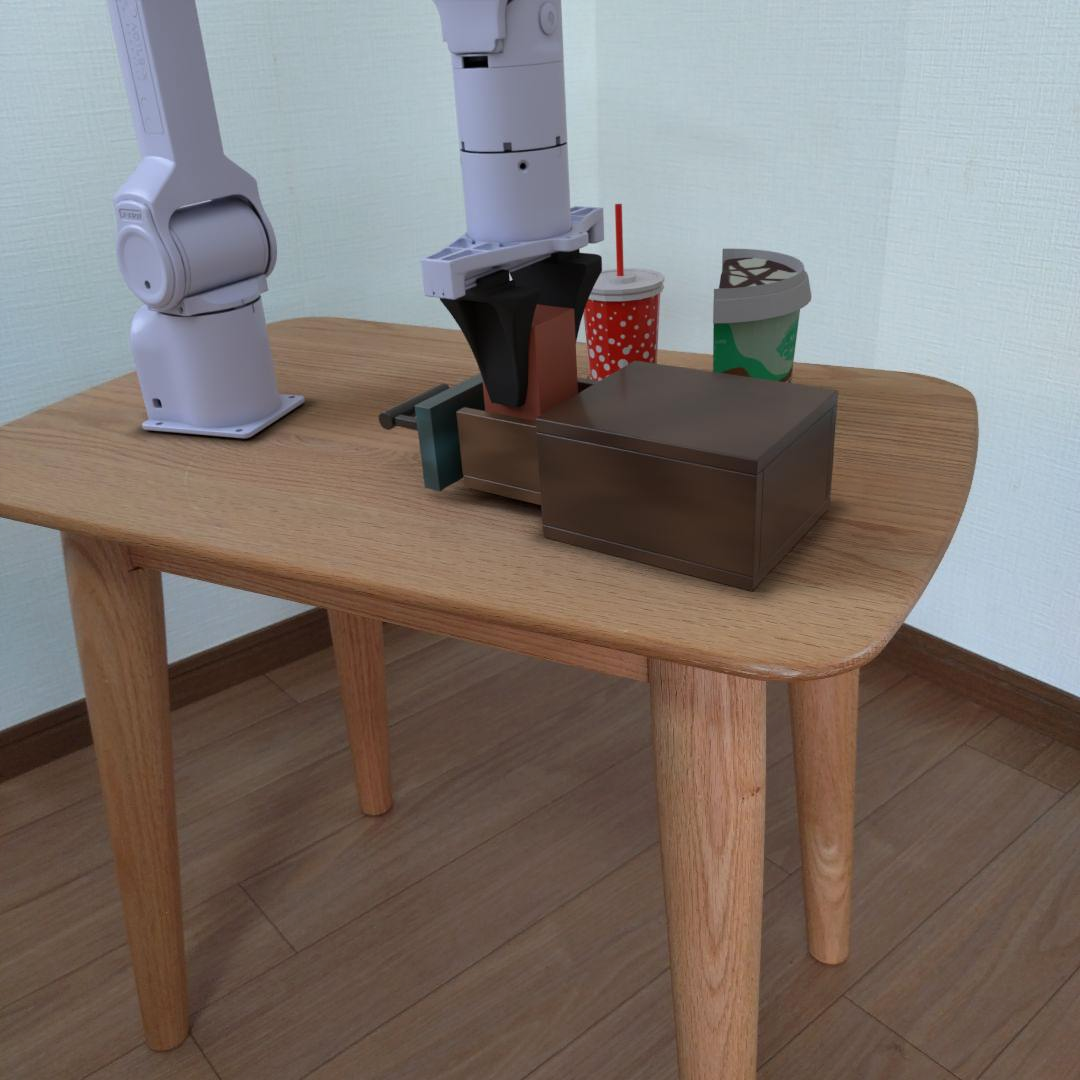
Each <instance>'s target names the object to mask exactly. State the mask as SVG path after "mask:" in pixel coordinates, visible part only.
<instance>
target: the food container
mask: <svg viewBox="0 0 1080 1080" xmlns="http://www.w3.org/2000/svg"><path fill="white" fill-rule="evenodd" d="M721 255H722V256H721V257H722V258H721V274H720V278H719V283H718V288H713V302H712V303H713V308H712V312H713V313H712V324H713V330H712V331H713V333H712V334H713V335H712V337H713V338H712V339H713V341H712V344H713V345H712V348H713V349H712V359H713V360H712V372H717V373H724V374H731V375H738V376H745V377H752V378H759V379H766V380H773V381H780V382H787V383H792V376H793V369H794V361H795V354H796V353H795V352H796V347H797V346H796V345H797V339H798V331H799V322H800V314H801V309H803V308H804V307H806V306H808V305H809V304H810V302H811V301H812V297H813V296H812V291H811V285H810V279H809V274H808V272H807V271H806V270H805V265H804V262H803V261H801V260H800V259H799V258H796V257H795V256H792V255H789V254H785V253H782V252H777V251H772V250H766V249H765V250H764V249H755V248H754V249H753V248H722V254H721Z"/></svg>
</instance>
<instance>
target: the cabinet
mask: <svg viewBox="0 0 1080 1080" xmlns="http://www.w3.org/2000/svg"><path fill="white" fill-rule="evenodd" d="M838 399H839V389H834V388H829V387H823V386H822V387H821V386H814V385H807V384H800V383H792V382H791V383H787V382H780V381H773V380H766V379H759V378H752V377H745V376H738V375H731V374H724V373H717V372H713V371H711V370H710V371H709V370H703V369H698V368H697V369H696V368H690V367H683V366H675V365H668V364H661V363H657V364H655V363H648V362H641V361H633V362H632V363H630V364H628V365H626V366H625V367H623V368H621V369H619V370H618V371H616V372H614V373H613V374H611V375H609V376H607V377H606V378H604V379H602V380H601V381H599V382H597V383H595V384H594V385H592V386H590V387H589V388H587V389H585V390H583V391H582V392H580V393H578V394H576V395H575V396H573V397H571V398H570V399H568V400H566V401H564V402H563V403H561V404H559V405H558V406H556V407H554V408H552V409H551V410H549V411H547V412H546V413H544V414H542V415H540V416H539V417H537V418H536V419H535V423H536V432H537V433H536V438H537V452H538V467H539V482H540V496H541V505H540V509H541V523H542V536H543V538H546V539H551V540H556V541H558V542H562V543H566V544H568V545H569V544H570V545H574V546H578V547H580V548H585V549H588V550H593V551H597V552H600V553H605V554H608V555H612V556H616V557H620V558H624V559H628V560H630V561H635V562H639V563H642V564H646V565H651V566H654V567H658V568H662V569H665V570H670V571H674V572H677V573H681V574H685V575H690V576H693V577H696V578H700V579H705V580H707V581H712V582H716V583H720V584H723V585H727V586H730V587H731V586H732V587H735V588H739V589H742V590H746V591H750V592H752V591H754V589H756V588H757V587H758V586H759V584H761V582H762V581H763V580H764V579H765V578H766V577H767V575H769V573H771V572H772V571H773V569H775V567H776V566H777V565H778V564H779V563H780V562H781V561H782V560H783V558H784V557H786V555H787V554H788V553H790V551H791V550H792V549H793V548H794V547H795V546H796V544H798V542H799V541H801V540H802V539H803V537H804V536H805V535H806V534H807V533H808V532H809V531H810V530H811V528H812V527H813V526H814V525H815V524H816V523H817V522H818V521H819V520H820V519H821V518H822V517H823V516H824V514H825V513H827V511H829V509H830V508H831V507H830V506H831V494H832V481H833V470H834V469H833V467H834V454H835V441H836V440H835V439H836V427H837V417H838V416H837V414H838V402H839V401H838Z"/></svg>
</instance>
